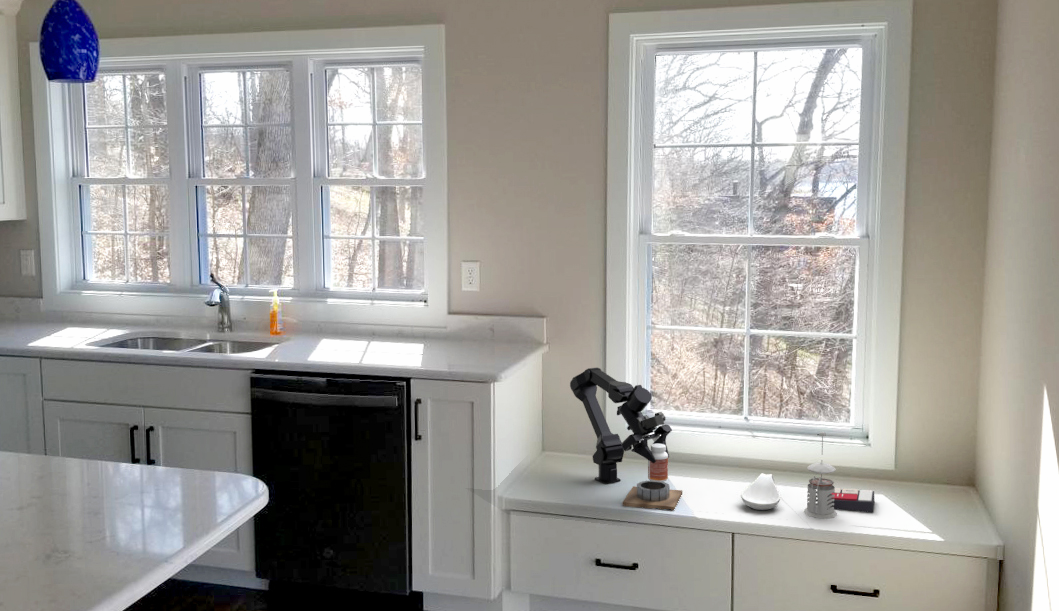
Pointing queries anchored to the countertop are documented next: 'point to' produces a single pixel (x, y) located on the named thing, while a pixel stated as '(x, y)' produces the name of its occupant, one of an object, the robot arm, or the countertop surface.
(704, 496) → the countertop surface
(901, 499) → the countertop surface
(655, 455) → the pill bottle
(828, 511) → the french press
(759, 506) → the spoon rest
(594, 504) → the countertop surface
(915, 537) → the countertop surface
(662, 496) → the collar
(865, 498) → the black box
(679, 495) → the socket plate
